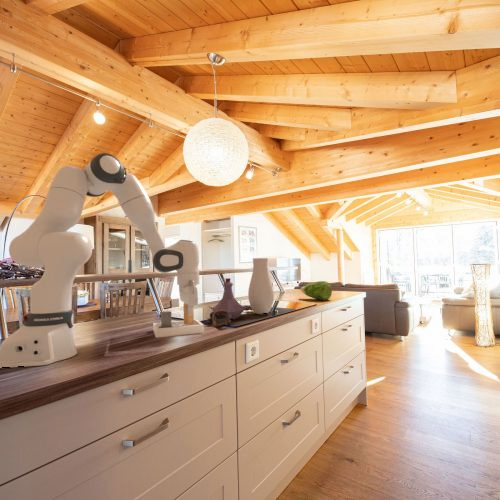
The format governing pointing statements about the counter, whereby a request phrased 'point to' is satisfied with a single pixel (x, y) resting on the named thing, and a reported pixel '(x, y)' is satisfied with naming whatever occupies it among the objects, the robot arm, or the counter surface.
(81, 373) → the counter surface
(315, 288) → the lettuce
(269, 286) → the vase
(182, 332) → the housing
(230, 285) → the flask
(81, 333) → the counter surface
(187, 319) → the orange cylinder
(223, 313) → the pottery mug
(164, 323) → the charcoal jaw peg
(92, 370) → the counter surface
